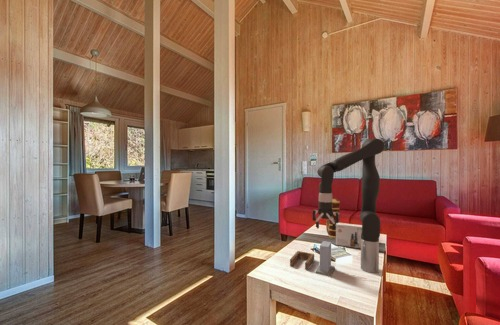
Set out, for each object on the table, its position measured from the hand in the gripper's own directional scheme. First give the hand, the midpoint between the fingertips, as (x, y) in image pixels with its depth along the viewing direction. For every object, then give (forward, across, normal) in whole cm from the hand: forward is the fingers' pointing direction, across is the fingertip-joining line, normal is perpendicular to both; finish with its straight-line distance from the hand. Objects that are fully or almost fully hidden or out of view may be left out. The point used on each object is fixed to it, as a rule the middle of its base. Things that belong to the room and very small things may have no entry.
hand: (325, 229), depth 131 cm
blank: (+22, 0, 0) cm, 22 cm away
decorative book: (+24, +8, -74) cm, 78 cm away
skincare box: (+24, -9, -50) cm, 56 cm away
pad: (+23, 0, 0) cm, 23 cm away
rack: (+23, +14, -2) cm, 27 cm away
